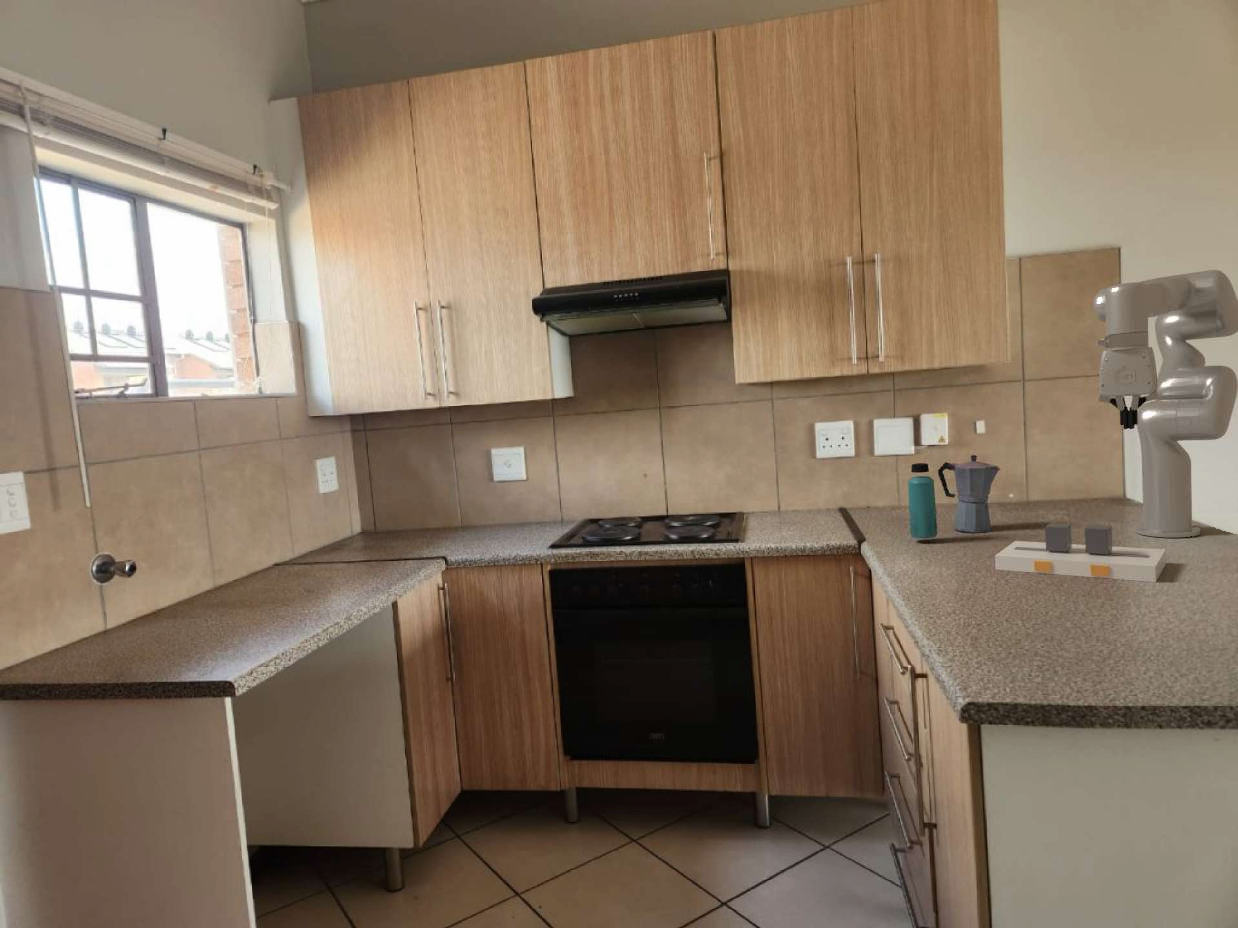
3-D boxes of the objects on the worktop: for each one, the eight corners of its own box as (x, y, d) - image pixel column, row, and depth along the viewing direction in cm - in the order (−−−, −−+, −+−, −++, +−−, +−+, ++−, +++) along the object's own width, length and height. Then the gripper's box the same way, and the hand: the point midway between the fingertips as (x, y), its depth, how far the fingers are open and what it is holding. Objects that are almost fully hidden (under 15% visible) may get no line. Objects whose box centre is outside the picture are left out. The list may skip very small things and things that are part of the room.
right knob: (1089, 548, 161) (1088, 524, 161) (1112, 550, 158) (1111, 525, 158) (1085, 552, 158) (1085, 528, 158) (1108, 554, 155) (1108, 529, 155)
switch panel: (1015, 553, 176) (1015, 540, 176) (1166, 563, 158) (1165, 548, 157) (995, 569, 164) (994, 554, 164) (1155, 582, 145) (1155, 565, 145)
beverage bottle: (940, 543, 192) (936, 463, 191) (912, 544, 194) (908, 465, 192) (935, 538, 199) (931, 461, 197) (907, 539, 200) (904, 462, 198)
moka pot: (1001, 534, 198) (998, 456, 196) (936, 532, 206) (933, 457, 204) (1005, 527, 206) (1002, 452, 204) (943, 526, 214) (939, 454, 212)
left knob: (1050, 546, 166) (1049, 523, 165) (1071, 547, 163) (1071, 524, 163) (1045, 550, 163) (1045, 526, 162) (1067, 551, 160) (1066, 527, 160)
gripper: (1083, 346, 167) (1085, 431, 169) (1167, 338, 157) (1169, 428, 159) (1089, 346, 173) (1092, 428, 174) (1172, 338, 163) (1173, 426, 165)
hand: (1129, 428), depth 167 cm, fingers closed
